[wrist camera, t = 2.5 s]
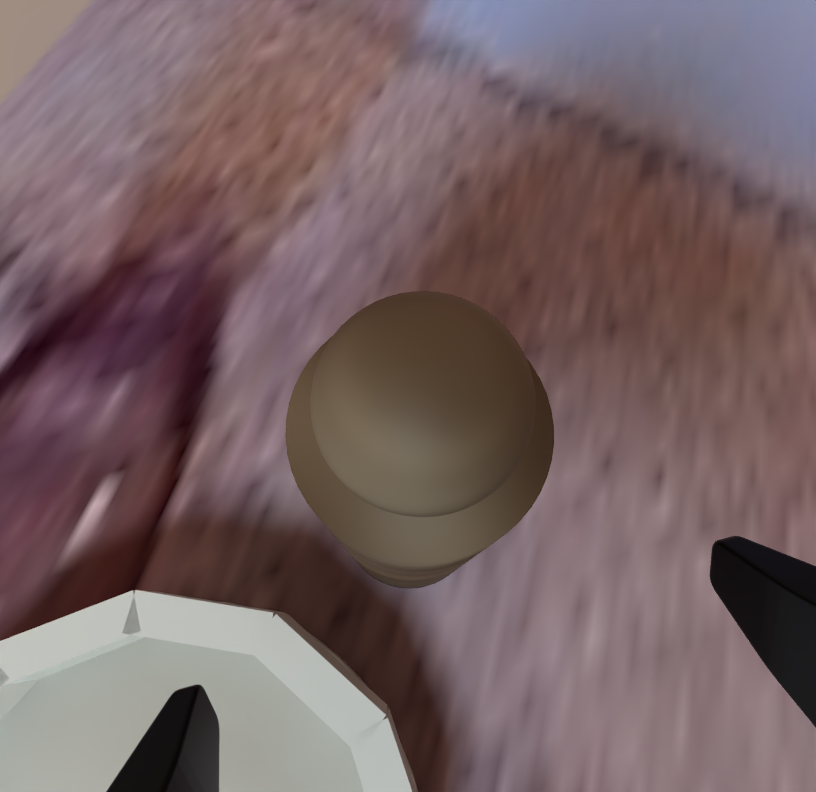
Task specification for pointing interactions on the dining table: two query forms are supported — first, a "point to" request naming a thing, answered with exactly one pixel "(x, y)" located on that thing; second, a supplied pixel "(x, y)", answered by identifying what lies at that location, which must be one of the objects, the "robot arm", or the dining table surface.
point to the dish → (181, 667)
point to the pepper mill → (419, 435)
